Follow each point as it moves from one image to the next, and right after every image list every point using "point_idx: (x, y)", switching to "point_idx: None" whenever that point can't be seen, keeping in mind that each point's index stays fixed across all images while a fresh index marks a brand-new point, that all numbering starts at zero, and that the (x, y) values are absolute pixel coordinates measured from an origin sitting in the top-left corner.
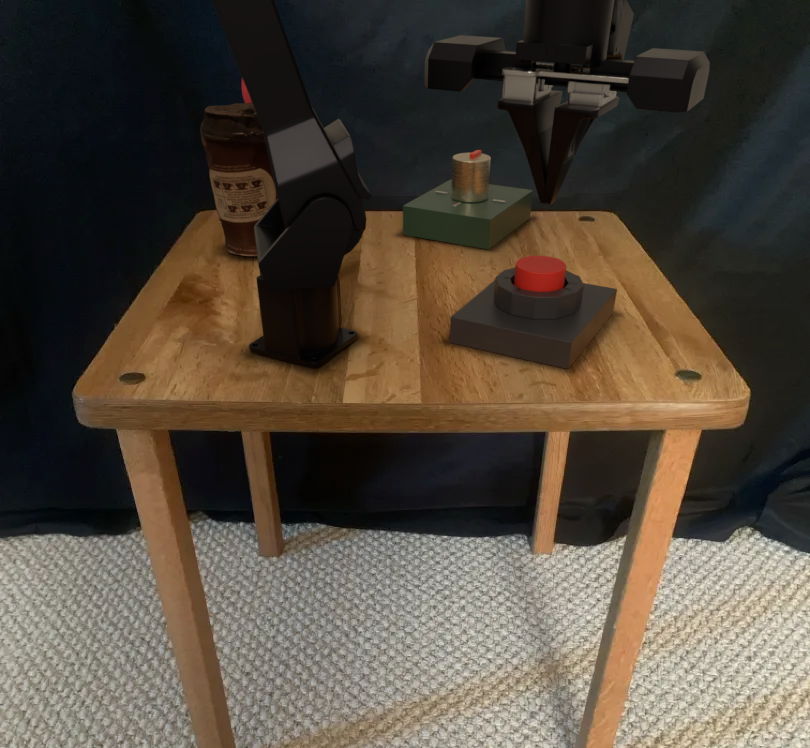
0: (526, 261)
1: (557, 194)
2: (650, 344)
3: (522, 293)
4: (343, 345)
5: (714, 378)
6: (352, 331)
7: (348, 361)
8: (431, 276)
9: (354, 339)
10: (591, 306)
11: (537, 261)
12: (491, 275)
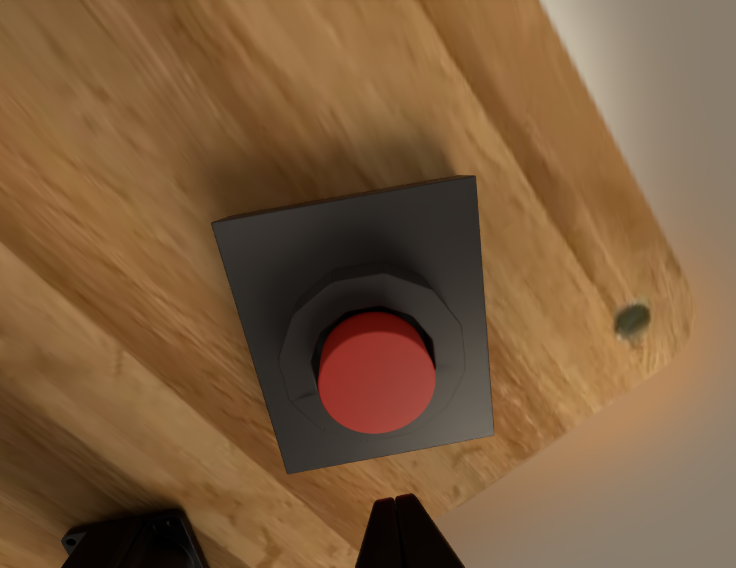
0: (341, 391)
1: (423, 508)
2: (557, 257)
3: (381, 434)
4: (195, 545)
5: (668, 306)
6: (170, 519)
7: (226, 548)
8: (39, 234)
9: (186, 520)
10: (466, 298)
11: (362, 377)
12: (130, 139)
